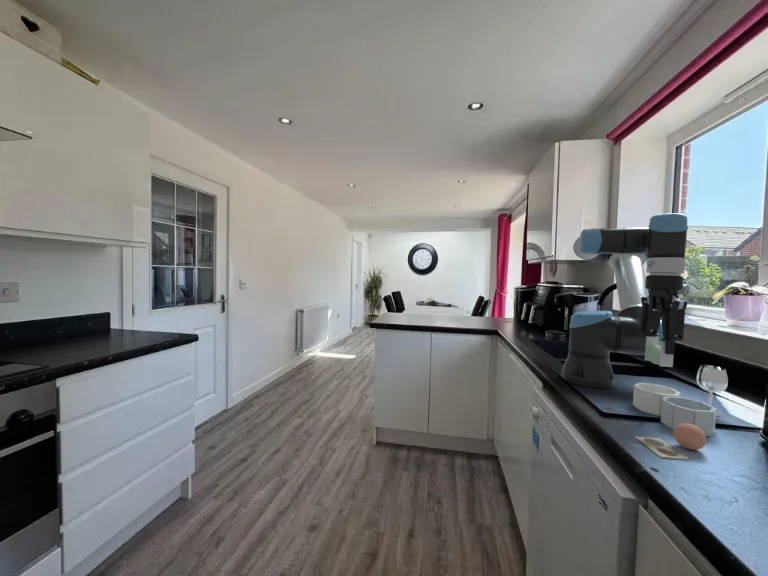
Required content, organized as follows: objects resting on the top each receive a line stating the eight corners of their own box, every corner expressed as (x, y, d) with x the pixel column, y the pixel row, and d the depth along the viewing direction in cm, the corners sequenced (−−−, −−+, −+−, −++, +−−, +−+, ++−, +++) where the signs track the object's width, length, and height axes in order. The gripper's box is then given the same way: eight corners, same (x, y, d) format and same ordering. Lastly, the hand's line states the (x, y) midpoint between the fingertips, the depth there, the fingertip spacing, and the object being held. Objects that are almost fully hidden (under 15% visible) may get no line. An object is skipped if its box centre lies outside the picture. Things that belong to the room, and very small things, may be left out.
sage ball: (641, 361, 91) (642, 343, 91) (661, 362, 91) (662, 344, 90) (653, 366, 86) (655, 346, 86) (675, 367, 86) (676, 348, 85)
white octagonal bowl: (626, 401, 94) (628, 382, 94) (661, 403, 93) (663, 384, 93) (648, 415, 85) (649, 393, 85) (687, 417, 84) (688, 396, 84)
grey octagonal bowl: (653, 417, 84) (654, 395, 84) (692, 419, 83) (694, 397, 83) (680, 434, 75) (682, 410, 75) (725, 437, 74) (727, 413, 74)
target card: (634, 437, 73) (634, 435, 73) (659, 439, 72) (659, 437, 72) (660, 457, 65) (660, 455, 65) (689, 460, 65) (689, 457, 64)
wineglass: (703, 407, 91) (706, 363, 91) (730, 416, 86) (734, 369, 85) (689, 409, 90) (692, 365, 89) (716, 418, 84) (719, 371, 83)
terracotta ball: (666, 441, 72) (668, 418, 72) (692, 443, 71) (693, 420, 71) (684, 453, 67) (686, 429, 67) (712, 455, 66) (714, 431, 66)
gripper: (627, 274, 97) (622, 354, 98) (673, 274, 79) (667, 372, 80) (656, 274, 96) (650, 355, 97) (709, 275, 78) (701, 374, 79)
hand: (658, 363), depth 88 cm, fingers closed on sage ball, 5 cm apart
